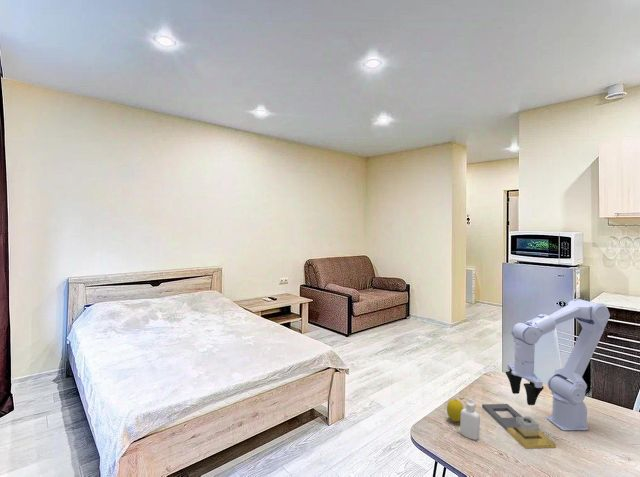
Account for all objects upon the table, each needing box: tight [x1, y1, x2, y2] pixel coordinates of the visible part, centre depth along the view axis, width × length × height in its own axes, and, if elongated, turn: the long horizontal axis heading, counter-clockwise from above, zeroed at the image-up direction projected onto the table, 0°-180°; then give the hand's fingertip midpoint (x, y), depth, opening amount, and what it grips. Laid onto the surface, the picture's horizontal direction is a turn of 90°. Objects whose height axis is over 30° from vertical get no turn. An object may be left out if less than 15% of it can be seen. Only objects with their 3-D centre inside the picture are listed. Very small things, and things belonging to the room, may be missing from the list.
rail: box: [481, 403, 557, 449], centre depth 115 cm, size 10×24×1 cm, turn 4°
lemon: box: [446, 398, 465, 423], centre depth 117 cm, size 6×6×8 cm
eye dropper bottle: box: [459, 398, 481, 441], centre depth 109 cm, size 4×6×12 cm
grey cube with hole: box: [516, 416, 540, 439], centre depth 109 cm, size 4×4×5 cm
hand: (523, 398), depth 114 cm, fingers open, 7 cm apart
